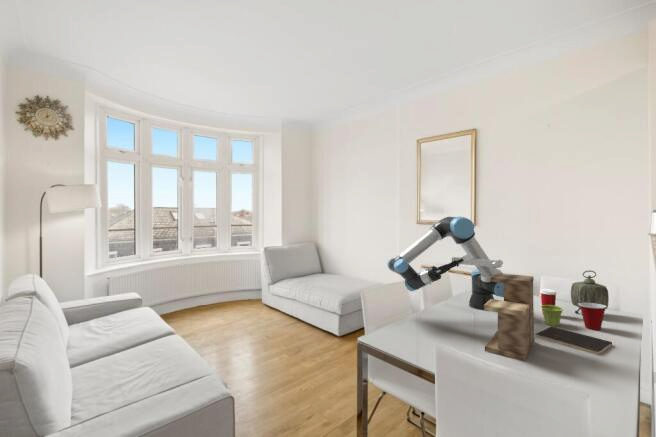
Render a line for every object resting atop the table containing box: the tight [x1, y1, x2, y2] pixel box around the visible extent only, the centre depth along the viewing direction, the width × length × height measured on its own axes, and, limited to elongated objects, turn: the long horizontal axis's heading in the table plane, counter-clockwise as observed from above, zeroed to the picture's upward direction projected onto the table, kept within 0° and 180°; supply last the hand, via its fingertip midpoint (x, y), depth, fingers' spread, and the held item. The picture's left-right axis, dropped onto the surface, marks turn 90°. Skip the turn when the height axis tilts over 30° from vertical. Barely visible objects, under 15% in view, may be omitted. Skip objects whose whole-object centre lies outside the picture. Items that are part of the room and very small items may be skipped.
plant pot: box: [540, 304, 564, 327], centre depth 161 cm, size 9×9×9 cm
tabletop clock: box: [570, 270, 610, 314], centre depth 172 cm, size 14×9×25 cm, turn 84°
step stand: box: [483, 272, 535, 362], centre depth 136 cm, size 15×23×30 cm, turn 139°
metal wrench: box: [451, 256, 504, 269], centre depth 150 cm, size 22×8×3 cm, turn 49°
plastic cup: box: [578, 303, 607, 331], centre depth 154 cm, size 11×11×12 cm
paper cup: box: [539, 288, 557, 316], centre depth 174 cm, size 8×8×14 cm
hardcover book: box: [536, 325, 613, 356], centre depth 140 cm, size 16×23×2 cm
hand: (470, 256), depth 152 cm, fingers closed on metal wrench, 3 cm apart
